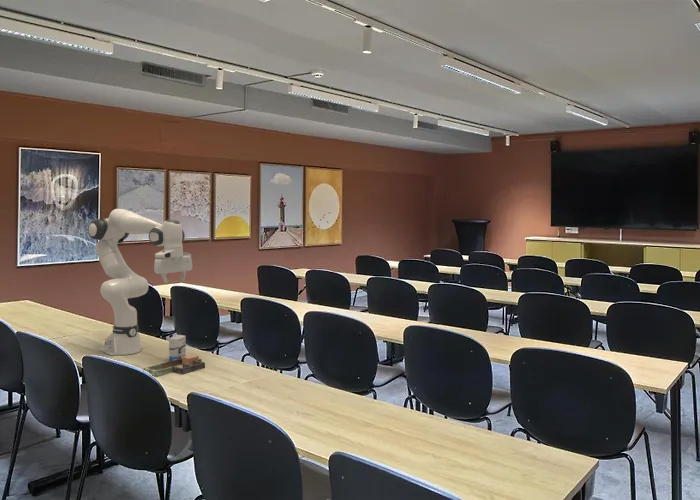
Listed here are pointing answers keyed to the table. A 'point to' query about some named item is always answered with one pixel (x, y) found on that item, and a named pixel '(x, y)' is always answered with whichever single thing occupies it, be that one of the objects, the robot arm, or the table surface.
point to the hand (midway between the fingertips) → (174, 281)
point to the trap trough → (174, 367)
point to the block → (189, 359)
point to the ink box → (177, 347)
